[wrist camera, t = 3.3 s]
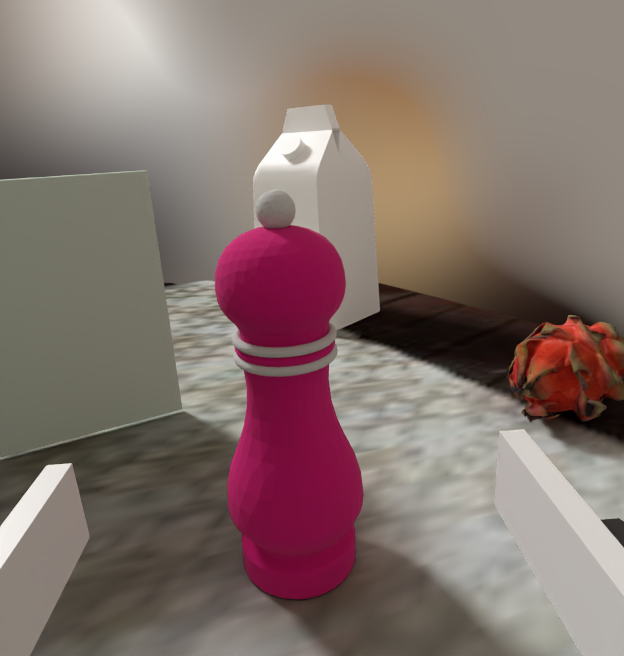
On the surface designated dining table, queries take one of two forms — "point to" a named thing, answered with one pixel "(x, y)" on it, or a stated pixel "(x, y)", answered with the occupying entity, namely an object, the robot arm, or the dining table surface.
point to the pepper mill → (289, 406)
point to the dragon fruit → (568, 369)
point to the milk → (327, 199)
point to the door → (80, 309)
